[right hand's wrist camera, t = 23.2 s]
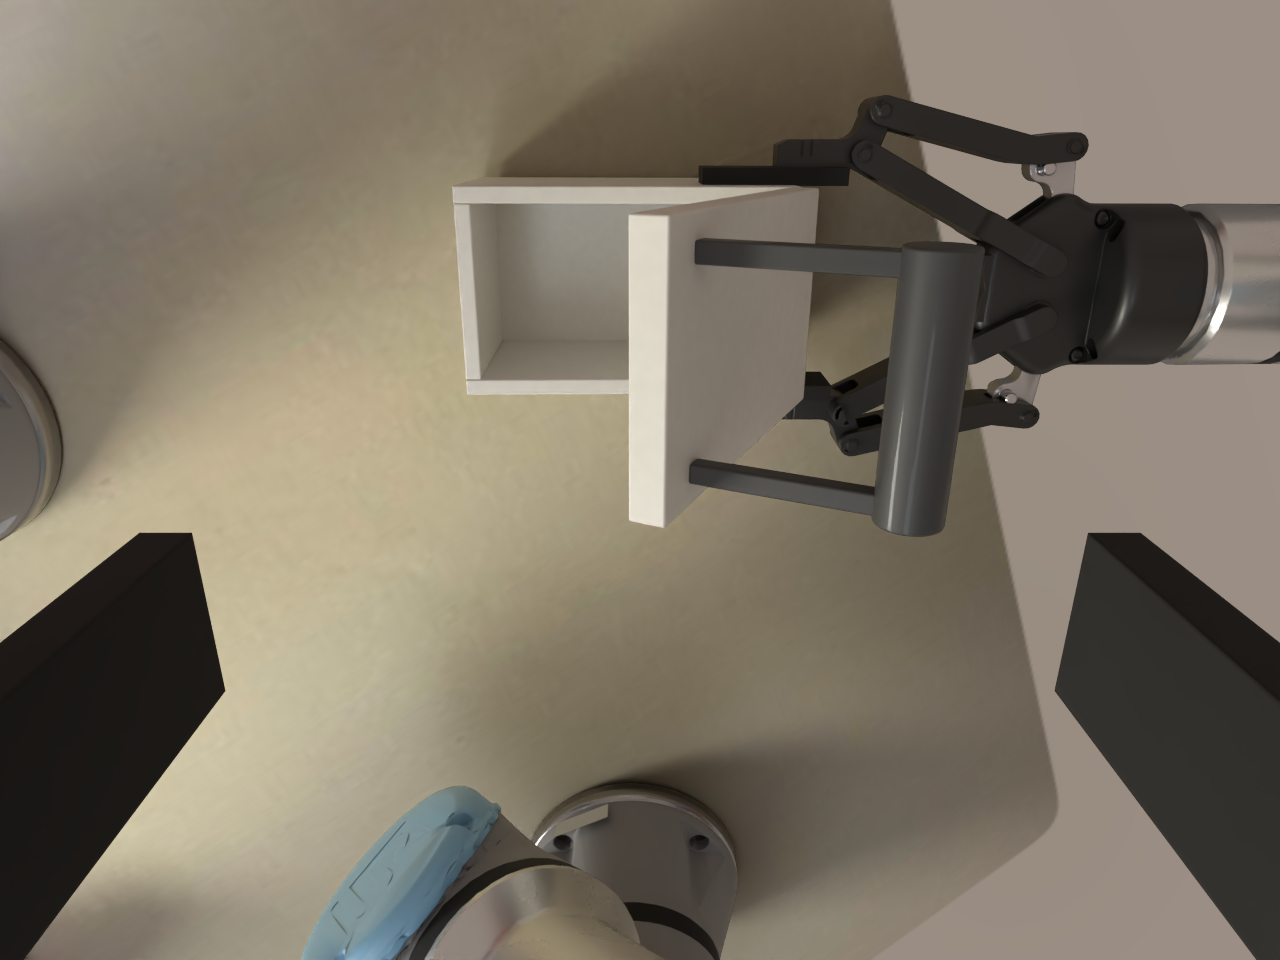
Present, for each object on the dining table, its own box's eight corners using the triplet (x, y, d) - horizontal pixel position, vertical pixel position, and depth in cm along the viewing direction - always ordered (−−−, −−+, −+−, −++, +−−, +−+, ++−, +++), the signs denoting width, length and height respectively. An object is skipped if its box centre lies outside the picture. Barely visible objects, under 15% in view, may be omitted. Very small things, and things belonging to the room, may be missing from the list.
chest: (492, 350, 49) (467, 395, 40) (482, 177, 45) (451, 186, 37) (757, 349, 49) (787, 393, 41) (766, 177, 46) (802, 186, 37)
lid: (627, 521, 27) (930, 582, 23) (627, 212, 23) (980, 227, 20) (777, 395, 40) (984, 422, 37) (790, 186, 37) (1020, 193, 33)
